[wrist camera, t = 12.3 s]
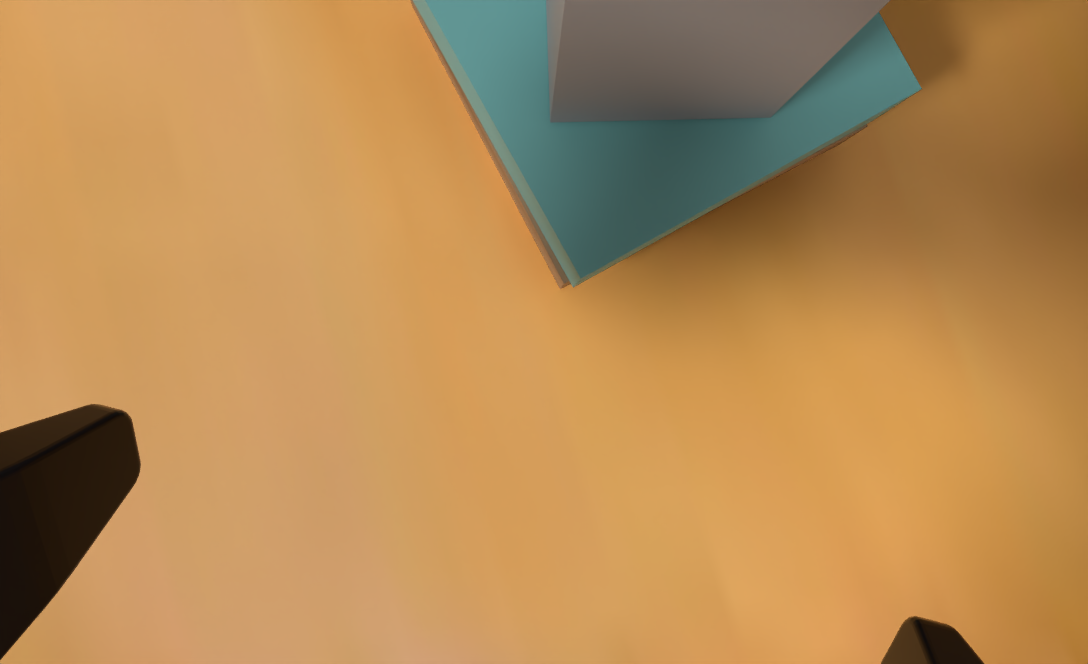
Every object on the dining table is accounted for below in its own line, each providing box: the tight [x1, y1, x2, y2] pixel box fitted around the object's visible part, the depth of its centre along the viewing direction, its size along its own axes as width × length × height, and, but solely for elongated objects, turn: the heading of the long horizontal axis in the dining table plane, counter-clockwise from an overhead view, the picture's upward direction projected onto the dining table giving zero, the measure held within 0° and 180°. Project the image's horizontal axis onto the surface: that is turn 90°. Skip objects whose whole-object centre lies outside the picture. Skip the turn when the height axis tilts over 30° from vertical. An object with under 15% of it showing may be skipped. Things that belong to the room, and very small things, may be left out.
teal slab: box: [413, 0, 922, 287], centre depth 18 cm, size 9×9×2 cm
